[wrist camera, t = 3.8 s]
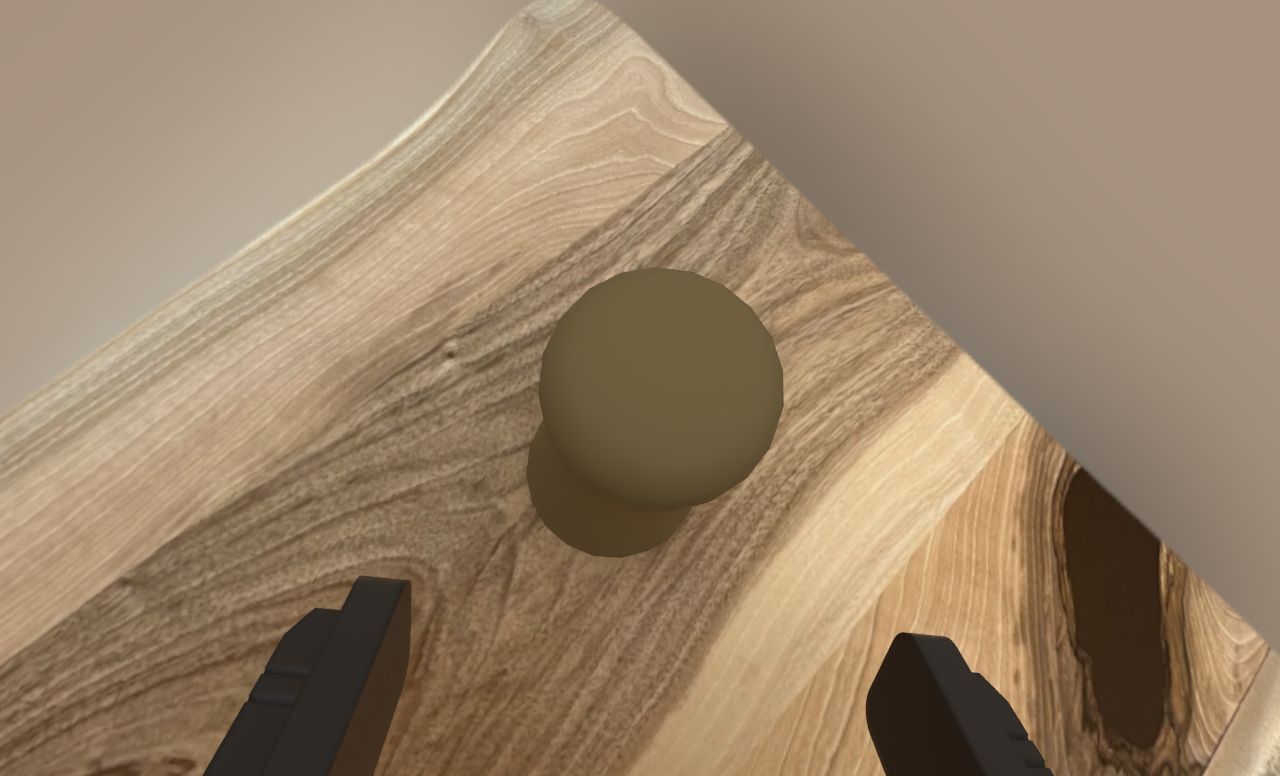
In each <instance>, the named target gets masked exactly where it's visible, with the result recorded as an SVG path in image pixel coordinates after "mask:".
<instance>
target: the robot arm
mask: <svg viewBox="0 0 1280 776" xmlns="http://www.w3.org/2000/svg"><path fill="white" fill-rule="evenodd" d="M410 632H411V582H410V581H409V580H399V579H389V578H380V577H370V576H359V577H358V578H357V580H356V581H355V583H354V585H353V587H352V589H351V591H350V593H349V595H348V597H347V599H346V601H345V603H344V605H343V607H342V609H341V610H332V609H321V608H314V609H313V610H312V611H311V612H310V613H308V614H307V615H306V616H305V617H304V618H303V619H302V620H300V621H299V622H298V623H297V624H296V625H295V626H293V627H292V628H291V629H290V630H289V631H288V632H286V633H285V634H284V636H283V637H282V639H281V641H280V643H279V644H278V646H277V648H276V650H275V651H274V653H273V655H272V656H271V658H270V660H269V662H268V663H267V665H266V667H265V671H264V673H263V674H261V675H260V677H259V679H258V681H257V682H256V684H255V686H254V688H253V689H252V691H251V693H250V694H249V699H248V701H247V702H245V703H244V705H243V707H242V708H241V710H240V712H239V713H238V715H237V717H236V719H235V720H234V722H233V724H232V726H231V727H230V729H229V731H228V732H227V734H226V736H225V738H224V739H223V741H222V743H221V745H220V746H219V748H218V750H217V751H216V753H215V755H214V757H213V758H212V760H211V762H210V764H209V765H208V767H207V769H206V770H205V772H204V774H203V776H373V775H374V772H375V769H376V766H377V763H378V760H379V757H380V754H381V751H382V748H383V745H384V742H385V739H386V736H387V733H388V730H389V727H390V724H391V721H392V718H393V715H394V713H395V710H396V707H397V704H398V701H399V698H400V695H401V692H402V689H403V685H404V681H405V677H406V673H407V668H408V662H409V655H410ZM866 719H867V725H868V729H869V732H870V735H871V738H872V740H873V743H874V746H875V748H876V751H877V753H878V756H879V759H880V761H881V764H882V767H883V769H884V772H885V774H886V776H1054V775H1053V774H1052V772H1051V770H1050V769H1049V768H1046V767H1045V764H1044V763H1045V761H1044V759H1043V757H1042V756H1041V754H1040V753H1039V751H1038V749H1037V748H1036V746H1035V745H1034V743H1033V741H1029V739H1028V733H1027V732H1026V730H1025V728H1024V727H1023V725H1022V724H1021V722H1020V720H1019V719H1018V717H1017V715H1016V714H1015V712H1014V711H1013V709H1012V707H1011V706H1010V704H1009V703H1008V701H1007V700H1006V699H1005V698H1004V697H1003V696H1002V695H1001V694H1000V693H999V692H998V691H997V690H996V689H995V688H994V687H993V686H992V685H991V684H990V683H989V682H988V681H987V680H986V679H985V678H984V677H983V676H982V675H981V674H980V673H972V672H971V671H970V669H969V667H968V665H967V664H966V662H965V660H964V659H963V657H962V655H961V654H960V652H959V650H958V648H957V647H956V645H955V644H954V643H953V642H952V641H951V640H950V639H949V638H947V637H944V636H934V635H924V634H914V633H904V632H902V633H899V634H898V635H897V636H896V637H895V638H894V640H893V642H892V644H891V646H890V648H889V650H888V652H887V654H886V656H885V658H884V660H883V662H882V665H881V667H880V669H879V671H878V673H877V675H876V677H875V679H874V681H873V683H872V685H871V687H870V689H869V692H868V695H867V700H866Z"/></svg>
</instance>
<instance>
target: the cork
mask: <svg viewBox="0 0 1280 776" xmlns="http://www.w3.org/2000/svg"><path fill="white" fill-rule="evenodd" d="M539 400H540V404H541V409H542V413H543V418H544V419H543V421H542V423H541V425H540V427H539V429H538V431H537V433H536V435H535V438H534V440H533V442H532V444H531V446H530V449H529V458H528V466H527V480H528V484H529V489H530V494H531V499H532V502H533V504H534V506H535V508H536V509H537V511H538V513H539V514H540V516H541V518H542V520H543V521H544V523H545V525H546V526H547V527H548V528H549V529H550V530H551V531H553V532H554V533H555V534H556V535H557V536H558V537H559V538H561V539H562V540H563V541H564V542H565V543H566V544H567V545H570V546H572V547H574V548H577V549H579V550H582V551H584V552H586V553H589V554H591V555H594V556H608V557H625V556H629V555H633V554H637V553H641V552H644V551H648V550H650V549H651V548H653V547H654V546H656V545H657V544H659V543H660V542H662V541H663V540H665V539H667V538H668V537H670V536H671V535H672V534H673V532H674V531H675V530H676V529H677V527H678V526H679V525H680V523H681V522H682V521H683V520H684V518H685V517H686V516H687V515H688V513H689V511H690V509H691V508H692V506H695V505H699V504H703V503H707V502H710V501H712V500H714V499H716V498H717V497H719V496H720V495H722V494H723V493H725V492H726V491H728V490H729V489H731V488H732V487H734V486H735V485H737V484H739V483H740V482H742V481H743V480H745V479H746V478H747V477H748V476H749V475H750V473H751V472H752V471H753V469H754V468H755V467H756V465H757V464H758V463H759V462H760V460H761V459H762V458H763V456H764V455H765V454H766V452H767V451H768V450H769V448H770V445H771V443H772V440H773V437H774V434H775V431H776V428H777V425H778V422H779V418H780V415H781V412H782V409H783V406H784V404H783V369H782V366H781V363H780V360H779V357H778V354H777V351H776V348H775V345H774V342H773V339H772V337H771V335H770V334H769V332H768V331H767V330H766V328H765V327H764V325H763V324H762V323H761V321H760V320H759V318H758V317H757V315H756V314H755V313H754V311H753V310H752V308H751V307H750V306H748V305H747V304H746V303H745V302H744V301H742V300H741V299H740V298H739V297H737V296H736V295H735V294H734V293H732V292H731V291H730V290H729V289H727V288H726V287H725V286H724V285H721V284H719V283H717V282H714V281H712V280H710V279H707V278H705V277H703V276H700V275H698V274H696V273H693V272H689V271H681V270H673V269H665V268H657V267H654V268H648V269H642V270H636V271H630V272H623V273H620V274H618V275H616V276H614V277H612V278H610V279H608V280H606V281H604V282H602V283H600V284H598V285H596V286H594V287H592V288H590V289H589V290H588V291H587V292H586V293H585V294H584V295H583V296H582V297H581V298H580V299H579V300H578V301H577V302H576V303H575V304H574V305H573V306H572V307H571V308H570V309H569V310H568V311H567V312H566V313H565V314H564V315H563V316H562V318H561V319H560V320H559V321H558V324H557V326H556V328H555V330H554V332H553V334H552V336H551V338H550V340H549V342H548V344H547V346H546V348H545V350H544V352H543V358H542V367H541V376H540V384H539Z"/></svg>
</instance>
